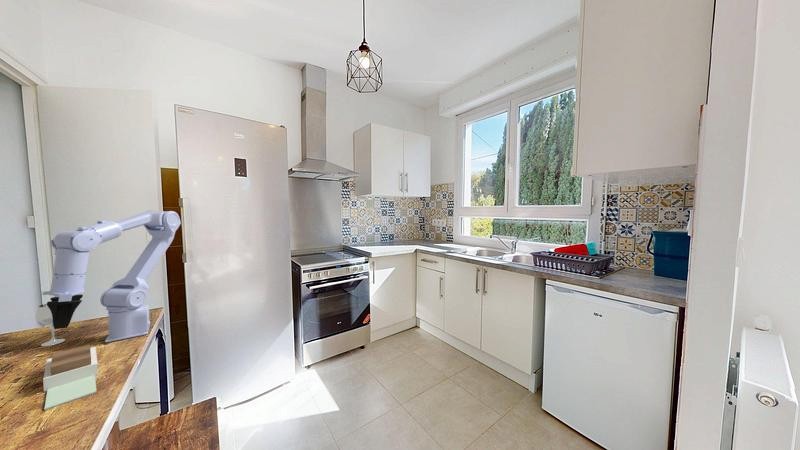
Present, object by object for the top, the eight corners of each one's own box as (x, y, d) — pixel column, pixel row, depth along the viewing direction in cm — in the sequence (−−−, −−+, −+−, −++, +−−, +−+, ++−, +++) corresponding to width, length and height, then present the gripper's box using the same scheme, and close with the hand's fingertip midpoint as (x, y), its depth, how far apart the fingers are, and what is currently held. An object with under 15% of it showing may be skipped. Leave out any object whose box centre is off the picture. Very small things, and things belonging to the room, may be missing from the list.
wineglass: (72, 340, 81) (70, 302, 81) (42, 349, 76) (40, 309, 75) (63, 336, 83) (61, 300, 82) (33, 345, 78) (31, 306, 77)
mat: (47, 390, 59) (47, 389, 59) (94, 375, 65) (94, 374, 64) (44, 410, 53) (44, 408, 53) (96, 392, 59) (96, 391, 59)
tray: (47, 370, 66) (47, 359, 66) (95, 357, 72) (95, 346, 72) (43, 391, 59) (43, 379, 58) (98, 374, 65) (97, 363, 65)
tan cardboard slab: (53, 361, 65) (52, 353, 65) (90, 351, 70) (89, 344, 70) (50, 376, 60) (50, 367, 59) (91, 364, 64) (90, 356, 64)
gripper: (48, 272, 73) (40, 322, 71) (42, 277, 63) (32, 334, 62) (87, 271, 78) (80, 318, 77) (87, 275, 69) (79, 328, 67)
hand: (61, 325), depth 70 cm, fingers open, 7 cm apart
